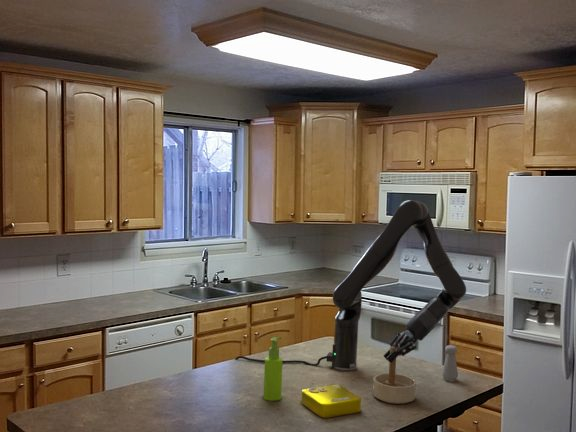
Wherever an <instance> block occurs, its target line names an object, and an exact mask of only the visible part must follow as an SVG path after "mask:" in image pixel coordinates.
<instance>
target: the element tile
mask: <svg viewBox="0 0 576 432" xmlns="http://www.w3.org/2000/svg"><path fill="white" fill-rule="evenodd" d="M301 404H302V405H304V406H305V407H306V408H308V409H309V410H310V411H312V412H313V413H314V414H316V415H317V416H318V417H320V418H323V419H328V418H334V417H340V416H346V415H351V414H357V413H360V412H361V408H362V398H361V397H360V396H359V395H357V394H356V393H354V392H353V391H350V390H349V389H347V388H345V387H344V386H343V385H340V384H338V383H337V384H330V385H323V386H316V387H308V388H304V389H302V390H301Z"/></svg>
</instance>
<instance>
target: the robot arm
mask: <svg viewBox="0 0 576 432" xmlns="http://www.w3.org/2000/svg"><path fill="white" fill-rule="evenodd" d="M412 227H413V228H414V229H415V231H416V233H417V234H418V236H419V237H420V240H421V242H422V246H423V250H424V254H425V257H426V260H427V262H428V264H429V266H430V268H431V270H432V271H433V273H434V276H436V277H437V278H438V279H439V281H440V282H441V284H442V286H443V288H442V289H441V290H440V292H438V293H437V294H436V296H435V297H432V299H431V300H429V301H428V302H427V303H426V304H425V305H424V306H423V307H422V308H420V309H419V310H418V312H416V313H415V314H414V315H413V316H412V317H411V318H410V319H409V320H408V321H407V322H406V323H405V325H404V327H405V328H406V329H405V330H404V331H402V332H401V333H400V332H399V331H398V332H396V333H395V334H394V335H393V337H392V339H391V341H390V343H389V346H390V347H396V349H395V350H394V351H393V352H392V353H391V354H390V348H389V349H388V350H387V351H386V352H385V353H384V354H383V358H384V359H385V360H386V361H388V363H389V362H390V363H392V362H393V361H394V360H395V359H396V360H397V358H398V357H401V356H402V357H404V356H406V355H407V354H409V353H411V352H412V351H414V350H416V349H417V345H416V343H417V341H420V342H422V341H423V340H424V339H425V338H426V337H427V336H429V334H430V333H431V332H432V330H433V329H435V327H436V326H437V325H438V324H439V322H441V320H443V319H444V318H445V316H446V315H448V312H449V311H450V310H451V309H453V308H454V307H455V306H456V305H457V304H459V302H460V301H461V300H462V299H463V298H464V297H465V295H466V293H467V286H466V284H465V282H464V279H463V278H462V276H461V275H460V274H459V272H458V271H457V269H456V268H455V267H454V265H453V263H452V261H451V259H450V257H449V255H448V253H447V251H446V250H445V248H444V246H443V244H442V242H441V239H440V238H439V236H438V233H437V231H436V228H435V226H434V223H433V219H432V217H431V214H430V211H429V208H428V206H427V205H426V204H425V203H424V202H422V201H419V200H414V199H407V200H404V201H402V202H401V203H400V204H399V206H398V207H397V209H396V210H395V212H394V213H393V215H392V217H391V218H390V220H389V221H388V223H387V225H386V226H385V228H384V229H382V231H381V232H380V234H379V235H378V236H377V237H376V239H375V240H374V241H373V242H372V243H371V244H370V246H369V247H368V248H367V249H366V251H365V252H364V253H363V255H362V257H360V259H359V260H358V262H357V263H356V265H355V266H354V267H353V269H352V270H351V272H350V273H349V274H348V275H347V276H346V278H345V279H344V280H343V281H342V282H340V284H339V285H337V287H336V288H335V289H334V290H333V293H332V303H333V304H334V306H335V307H336V308H338V312H337V314H336V315H335V317H334V331H333V332H334V333H333V335H334V336H333V344H332V350H331V351H332V352H330V351H329V352H327V355H325V356H322V357H320V358H319V359H318V360H317V362H316V363H311V362H308V361H305V360H283V361H282V364H305V365H308V366H313V367H318V366H319V365H320V363H321V361H322V360H325V361H326V362H327V363H331V369H333V370H337V371H340V372H352V371H356V370H357V367H358V366H357V362H358V337H359V321H360V319H361V314H362V304H363V303H362V302H363V295H362V290H363V289H364V287H365V286H366V285H367V284H368V283H369V282H371V281H372V280H373V279H374V278H376V277H377V276H378V275H379V274H380V273H381V272H382V271H383V270H384V269H385V268H386V267H387V266H388V264H389V263H390V262H391V261H392V259H393V258H394V256H395V254H396V251H397V249H398V246H399V244H400V241H401V239H402V238H403V237H404V235H405V234H406V233H407V232H408V231H409V230H410V229H411V228H412ZM240 359H243V360H246V361H249V362H256V363H264V364H265V359H259V358H258V359H257V358H250V357H247V356H244V355H239V356H236V357H235V358H234V360H235V361H238V360H240Z"/></svg>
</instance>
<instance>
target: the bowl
mask: <svg viewBox="0 0 576 432" xmlns="http://www.w3.org/2000/svg"><path fill="white" fill-rule="evenodd" d="M386 380H389V372H387V373H386V372H385V373H380V374H376V375H375V376H373V379H372V395H373V397H375V398H376V399H378V400H380V401H381V402H385V403H388V404H394V405H395V404H396V405H400V404H401V405H402V404H408V403H410V402H413V401H414V400H415V399H416V389H417V388H416V387H417V381H416V380H415V379H414V378H412V377H411V376H407V375H404V374H399V373H395V381H397V382H398V387H393V386H387V385H385V381H386Z"/></svg>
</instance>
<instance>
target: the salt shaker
mask: <svg viewBox="0 0 576 432" xmlns="http://www.w3.org/2000/svg"><path fill="white" fill-rule="evenodd" d="M444 351H445V352H446V354H445V358H444V363H443V366H442V367H443V368H442V371H441V374H442V378H443V380H444V381H446V382H450V383H454V382H456V381H457V379H458V377H459V372H458V365H457V357H456V354H457V353H458V347H457V346H455V345H453V344H448V345H446V346H445V349H444Z"/></svg>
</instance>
